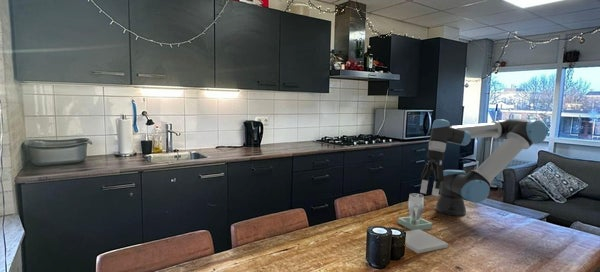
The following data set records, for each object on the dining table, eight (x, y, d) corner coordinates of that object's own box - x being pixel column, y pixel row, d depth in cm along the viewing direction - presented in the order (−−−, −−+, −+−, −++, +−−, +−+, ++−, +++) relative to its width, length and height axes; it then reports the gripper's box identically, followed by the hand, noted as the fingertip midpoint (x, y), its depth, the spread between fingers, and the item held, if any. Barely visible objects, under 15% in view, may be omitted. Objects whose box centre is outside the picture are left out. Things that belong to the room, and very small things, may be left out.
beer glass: (419, 229, 148) (422, 198, 146) (405, 225, 152) (406, 195, 150) (424, 225, 153) (426, 195, 152) (409, 221, 157) (411, 192, 156)
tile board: (419, 232, 145) (419, 229, 144) (447, 247, 130) (448, 243, 130) (390, 237, 138) (391, 233, 138) (417, 253, 124) (418, 249, 124)
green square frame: (415, 220, 160) (415, 215, 160) (432, 228, 150) (432, 223, 149) (397, 222, 155) (398, 218, 155) (414, 231, 145) (414, 226, 145)
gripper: (418, 150, 166) (411, 190, 165) (440, 148, 142) (432, 195, 140) (432, 153, 166) (425, 193, 165) (456, 151, 142) (448, 198, 140)
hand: (428, 194), depth 152 cm, fingers open, 13 cm apart
